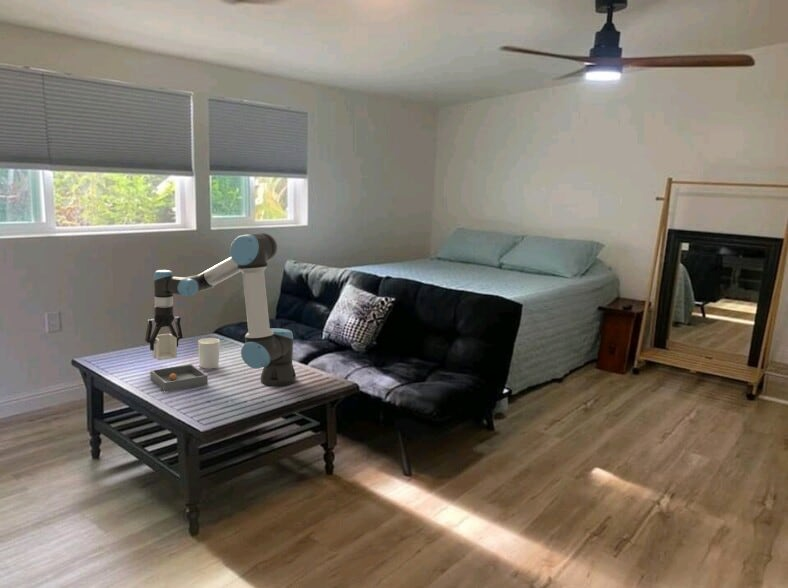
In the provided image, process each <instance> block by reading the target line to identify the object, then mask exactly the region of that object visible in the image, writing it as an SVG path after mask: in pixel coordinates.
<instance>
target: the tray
mask: <svg viewBox="0 0 788 588" xmlns="http://www.w3.org/2000/svg"><path fill="white" fill-rule="evenodd" d="M149 372H150V380H151V381H152V383H154V384H155V385H156V386H157V387H158V388H160V390H162V391H163V392H164V391H165V392H164V393H169V392H173V391H178V390H183V389H184V388H185V389H189V388H194V387H201V386H205V385H208V383H209V381H208V380H209V379H208V378H209V377H208V374H206V373H205V372H204V371H202V370H201V369H199V368H198V367H197V366H195V365H193V364H192V363H190V364H184V365H183V364H182V365H178V366H172V367H171V366H170V367H165V368H160V369H152V370H150V371H149ZM172 373H174V374H176V375H177V378H176V380H173V381H172V380H170V379H169V376H170V374H172Z"/></svg>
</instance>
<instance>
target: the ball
mask: <svg viewBox="0 0 788 588" xmlns="http://www.w3.org/2000/svg"><path fill="white" fill-rule="evenodd" d="M176 378H177V375H176V374H174V373H172V374H170V376H169V379H170V380H172V381H173V380H176Z"/></svg>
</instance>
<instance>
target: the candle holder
mask: <svg viewBox="0 0 788 588" xmlns="http://www.w3.org/2000/svg"><path fill="white" fill-rule="evenodd" d="M197 345H198V346H197V347H198V360H199V361H198V362H199V367H200V368H201V367H202V369H215V368H217V367H219V364H220V363H219V362H220V349H221V348H220V347H221V339H219V338H215V337H209V338H208V337H204V338H200V339H198V340H197ZM214 367H215V368H214Z"/></svg>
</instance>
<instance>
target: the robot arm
mask: <svg viewBox="0 0 788 588" xmlns="http://www.w3.org/2000/svg"><path fill="white" fill-rule="evenodd" d="M277 252H278V244H277V241H276V239H275V238H274V237H273V236H272V235H270V234H269V233H266V232H260V233H247V234H243V235H238V236H237V237H235V238H234V240H233V241H232V242H231V244H230V248H229V253H230V257H228V258H226V259H224V260H223V261H220V262H219V263H217V264H215V265H213V266H212V267H210V268H208V269H206V270H204V271H203V272H201V273H199V274H195V275H190V276H184V277H181V276H175V275H174V272H173V271H172V270H168V269H158V270H156V271H154V274H153V275H154V277H153V285H154V293H153V294H154V316H153V318H151V319H148V318H147V319H146V322H147V323H146V324H147V327H146V331H145V339H144V341H145V342H146V343H149V350H150V351H151V357H152V358H153V359H156V343H155V339H156V337H157V335H159V332H160V330H161V328H164V327H168V329H169V331H170V334H172V335H173V336H175V337H176V338H177V348H178V347H179V341H180V339H183V332H182V328H181V317H180V316H178V315H177V316H174V306H173V305H174V295H179V296H183V297H194V296H195V295H196V294H197V293H199V292H205V291H209V290H211V289H213V288H215V286H216V285H217V284H218V285H219V284H220V283H222V282H223V281H225V280H227V279H229V278H231V277H234V276H235V275H236V274H237V275H238V273H240V272H241V274H242V283H243V284H242V285H243V292H244V293H243V295H244V302H245V310H246V311H245V313H246V321H247V330H248V331H247V332H246V334H245V335H244V339H245V340H244V342H245V343H244V344H243V346H242V347H241V349H240V350H241V351H240V354H241V355H240V356H241V358H242V360H243V362H244V363H245V364H246V365H247V366H248V367H250V368H252V369H258V370H259V369H262V368H263V369H262V371H261V374H260V382H261V383H262V384H263V385H266V386H270V385H271V386H272V387H283V386H285V385H286V386H289V384H290V385H292V383H293V382H294V383H296V381H297V375H296V372H295V368H294V365H293V351H294V349H293V348H294V334H293V332H292V330H290V329H286V328H280V327H279V328H278V327H277V328H274V327H273V328H270V318H269V317H270V315H269V309H268V307H269V306H268V296H267V289H266V288H267V286H266V279H265V271H266V269H267V268H268V261H270V260H272V259H273V258H274V257H275V256H276V255H277ZM173 321H174V322H175V327H176V330H175V328H174V326H173V324H172V323H173ZM154 322H155V323H156V324H155V326H154V328H153V325H154ZM153 329H154V330H153ZM294 383H293V384H294ZM271 386H270V387H271Z"/></svg>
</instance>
